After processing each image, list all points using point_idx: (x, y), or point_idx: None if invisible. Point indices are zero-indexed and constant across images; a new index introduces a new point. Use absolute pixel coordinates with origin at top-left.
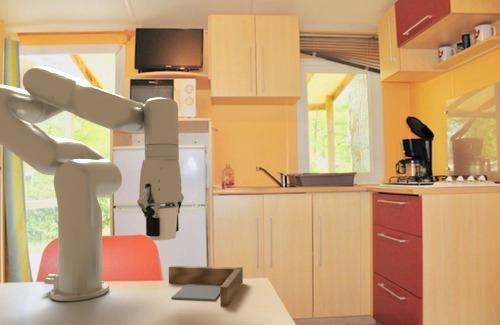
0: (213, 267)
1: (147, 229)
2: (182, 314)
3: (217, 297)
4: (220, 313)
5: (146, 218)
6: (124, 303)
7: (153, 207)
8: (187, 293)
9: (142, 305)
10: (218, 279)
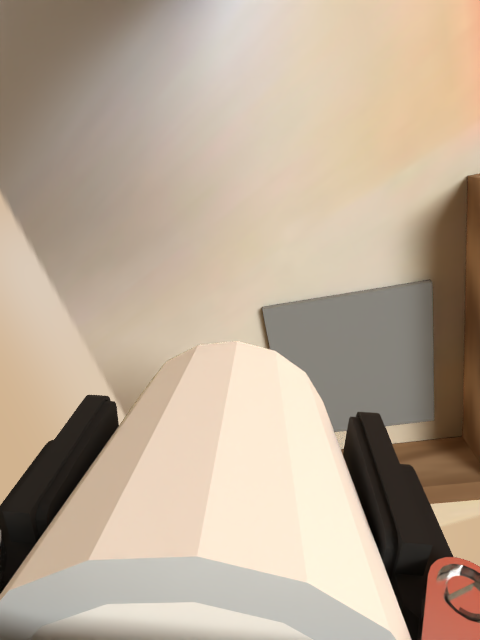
0: None
1: (42, 453)
2: None
3: None
4: None
5: (8, 507)
6: (160, 167)
7: (158, 619)
8: (316, 340)
9: (171, 248)
10: (472, 395)
